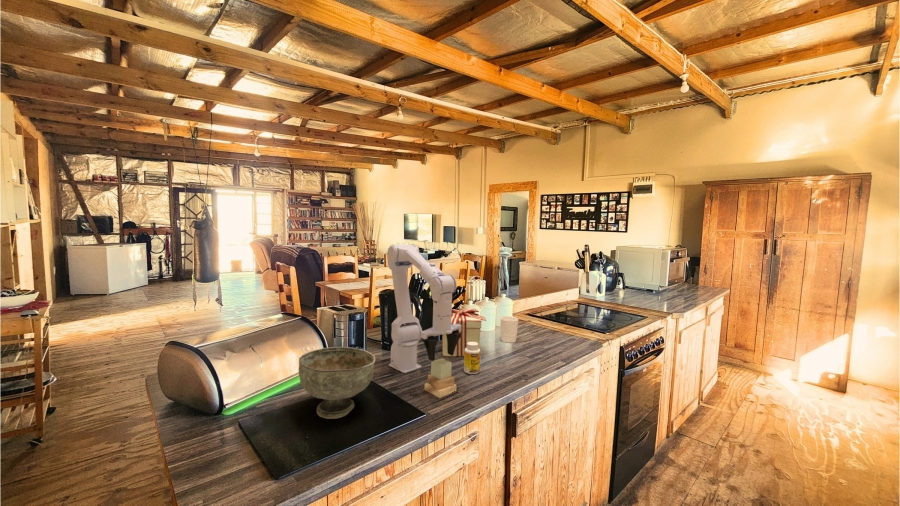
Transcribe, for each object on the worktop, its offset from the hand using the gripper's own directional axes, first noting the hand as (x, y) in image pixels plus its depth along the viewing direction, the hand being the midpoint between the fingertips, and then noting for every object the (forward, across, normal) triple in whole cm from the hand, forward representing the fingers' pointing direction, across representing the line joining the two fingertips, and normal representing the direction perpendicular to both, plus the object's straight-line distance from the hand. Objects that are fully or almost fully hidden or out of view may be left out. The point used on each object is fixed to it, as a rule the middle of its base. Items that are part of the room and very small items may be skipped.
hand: (441, 357), depth 115 cm
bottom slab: (+11, -1, -1) cm, 11 cm away
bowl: (+11, -30, +8) cm, 33 cm away
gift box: (+11, +28, +21) cm, 36 cm away
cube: (+6, 0, 0) cm, 6 cm away
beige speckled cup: (+11, +54, +19) cm, 58 cm away
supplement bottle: (+11, +17, +4) cm, 21 cm away
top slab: (+8, 0, -1) cm, 8 cm away
